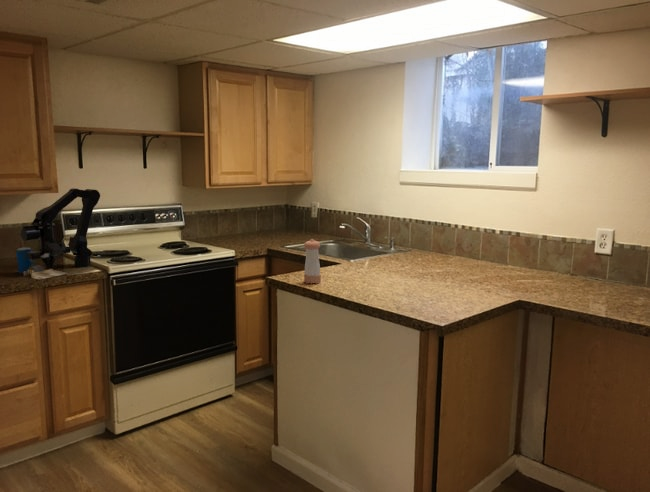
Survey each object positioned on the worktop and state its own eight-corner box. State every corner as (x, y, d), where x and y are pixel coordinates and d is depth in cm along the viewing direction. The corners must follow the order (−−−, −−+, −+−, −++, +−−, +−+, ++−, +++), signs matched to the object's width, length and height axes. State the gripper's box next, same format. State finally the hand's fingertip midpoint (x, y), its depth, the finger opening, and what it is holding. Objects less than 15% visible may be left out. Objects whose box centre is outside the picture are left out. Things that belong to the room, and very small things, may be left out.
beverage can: (27, 275, 257) (24, 250, 255) (15, 275, 258) (12, 249, 256) (37, 272, 263) (34, 247, 261) (25, 271, 265) (22, 247, 263)
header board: (52, 271, 265) (51, 265, 264) (68, 275, 258) (68, 268, 257) (23, 277, 253) (22, 271, 252) (39, 281, 246) (38, 274, 245)
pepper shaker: (310, 285, 239) (309, 241, 235) (300, 281, 245) (300, 238, 241) (323, 282, 243) (323, 239, 240) (314, 279, 249) (314, 237, 245)
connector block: (38, 273, 257) (37, 265, 256) (43, 274, 254) (42, 266, 254) (29, 275, 253) (28, 266, 252) (34, 276, 251) (33, 267, 250)
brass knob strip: (29, 275, 253) (28, 268, 253) (35, 276, 251) (34, 270, 250) (25, 276, 252) (24, 269, 251) (31, 277, 249) (30, 270, 249)
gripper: (37, 242, 244) (40, 277, 247) (75, 236, 260) (78, 268, 263) (23, 240, 250) (27, 273, 253) (61, 234, 266) (65, 265, 269)
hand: (50, 270), depth 259 cm, fingers closed
